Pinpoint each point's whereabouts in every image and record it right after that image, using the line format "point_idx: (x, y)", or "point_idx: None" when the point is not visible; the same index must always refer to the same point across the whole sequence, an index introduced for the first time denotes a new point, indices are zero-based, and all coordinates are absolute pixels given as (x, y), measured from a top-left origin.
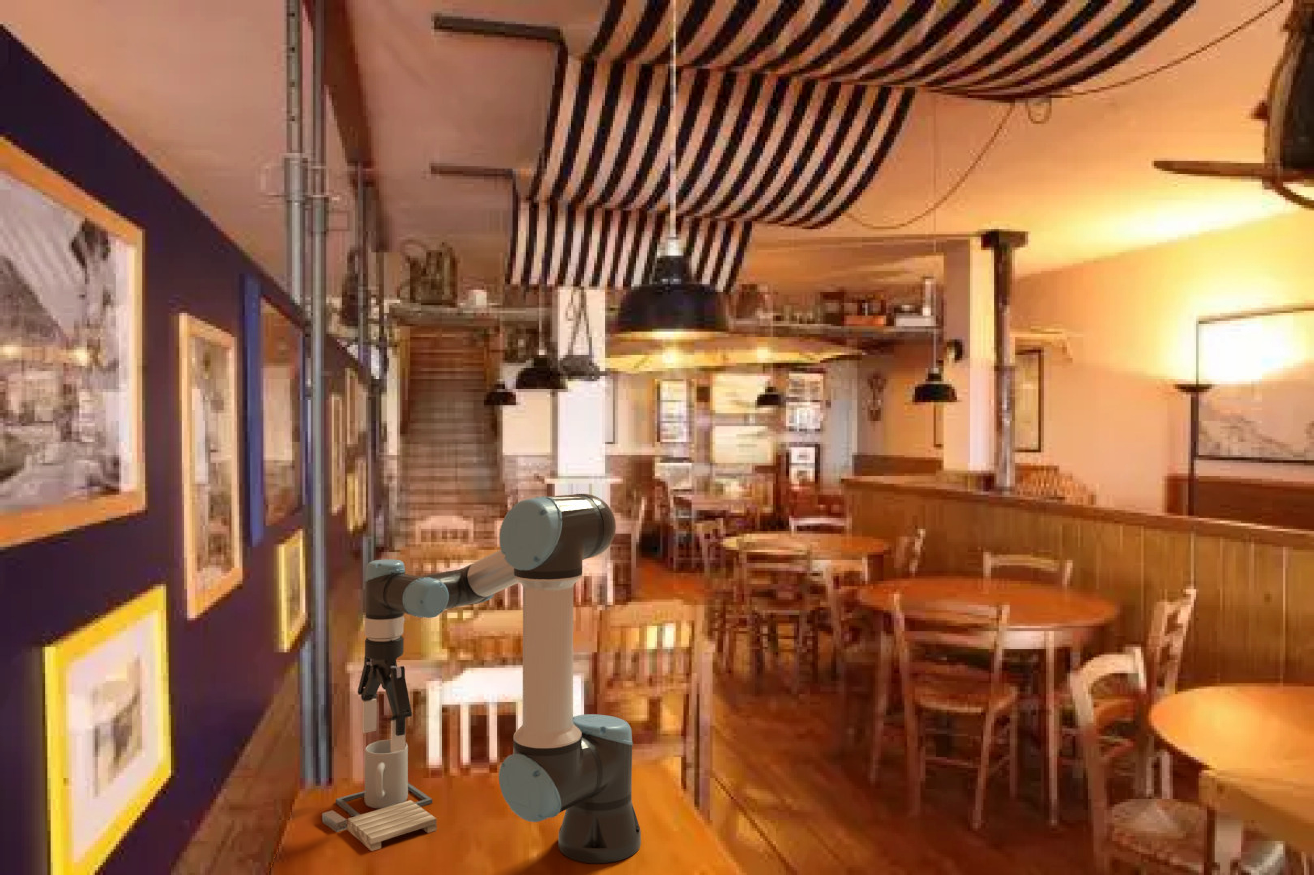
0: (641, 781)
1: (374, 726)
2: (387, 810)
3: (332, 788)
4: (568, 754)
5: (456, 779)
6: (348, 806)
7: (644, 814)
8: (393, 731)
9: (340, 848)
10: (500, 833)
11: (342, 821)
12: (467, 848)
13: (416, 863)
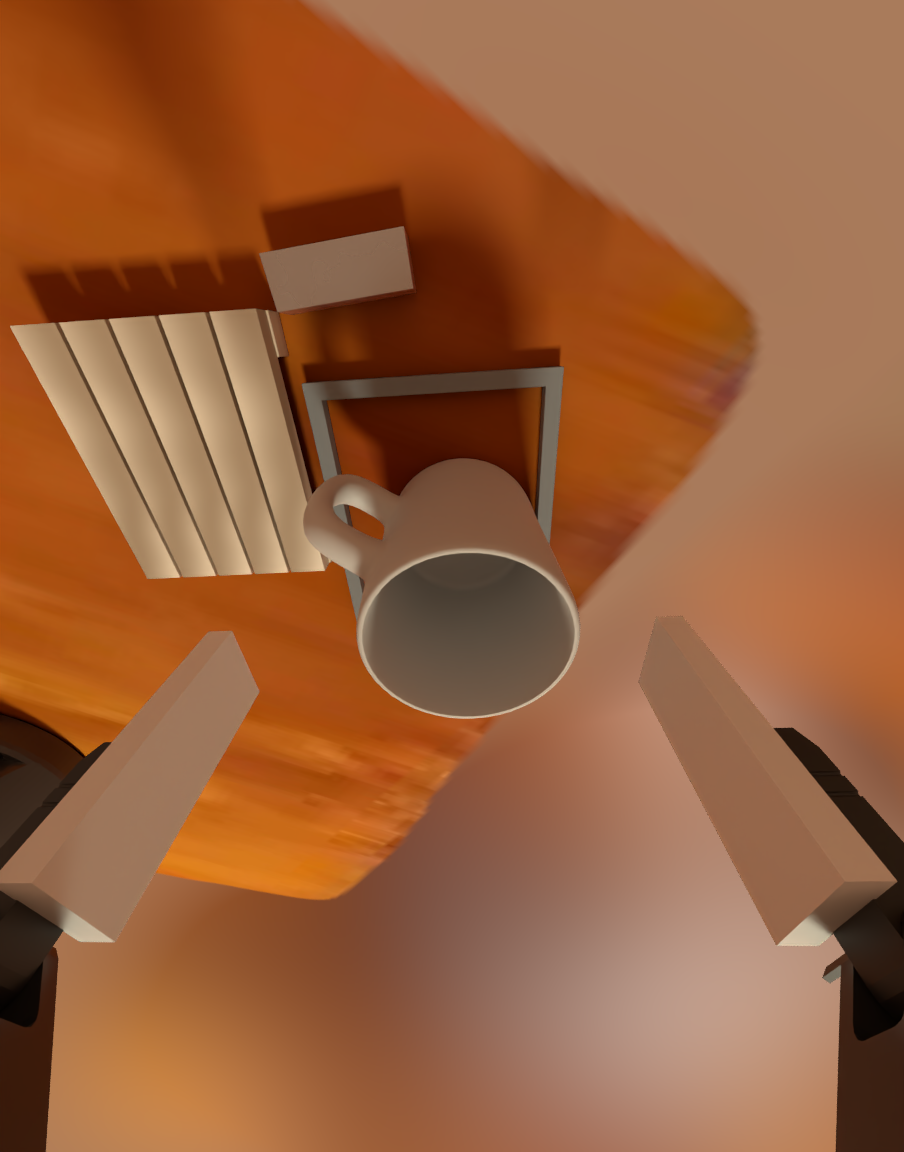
0: (267, 874)
1: (652, 694)
2: (270, 479)
3: (701, 405)
4: None
5: None
6: (456, 385)
7: None
8: (104, 758)
9: (107, 214)
10: (105, 662)
11: (270, 287)
12: (28, 579)
13: None
